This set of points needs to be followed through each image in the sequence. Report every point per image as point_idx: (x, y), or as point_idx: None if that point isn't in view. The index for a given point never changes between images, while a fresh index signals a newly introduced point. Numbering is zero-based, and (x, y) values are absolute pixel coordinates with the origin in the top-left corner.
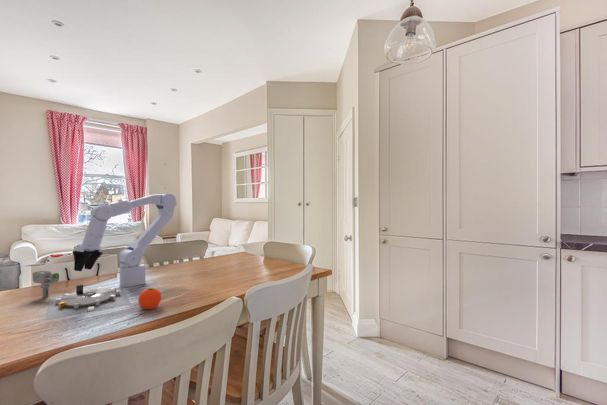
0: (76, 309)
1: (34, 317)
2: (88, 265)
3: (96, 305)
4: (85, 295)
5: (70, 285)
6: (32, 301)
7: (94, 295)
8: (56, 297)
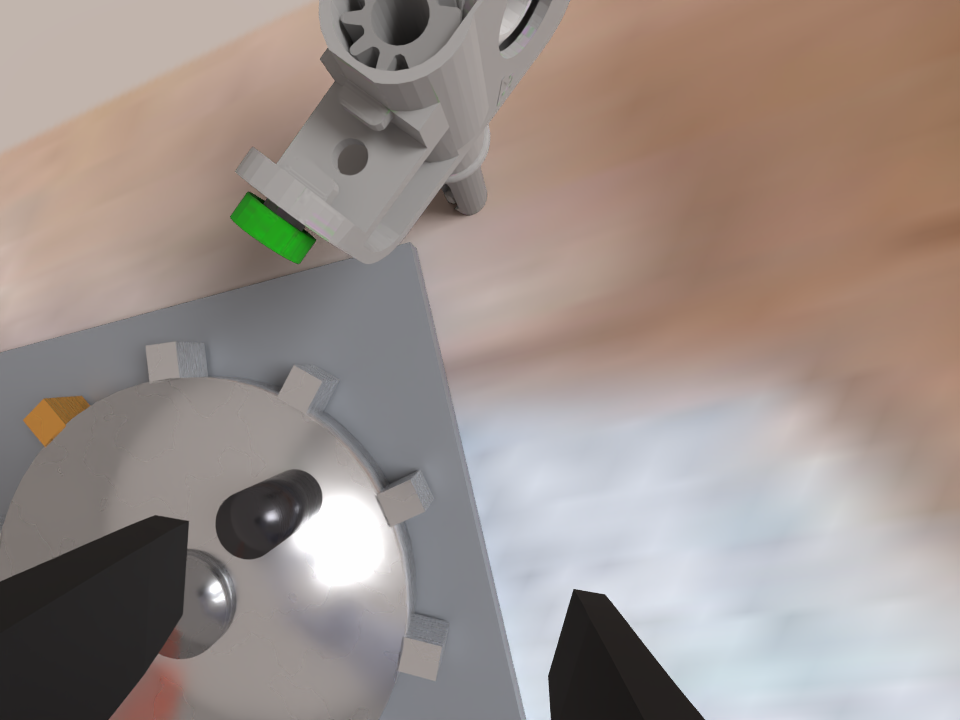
0: None
1: (48, 279)
2: (579, 704)
3: None
4: None
5: (944, 260)
6: None
7: None
8: (396, 289)
